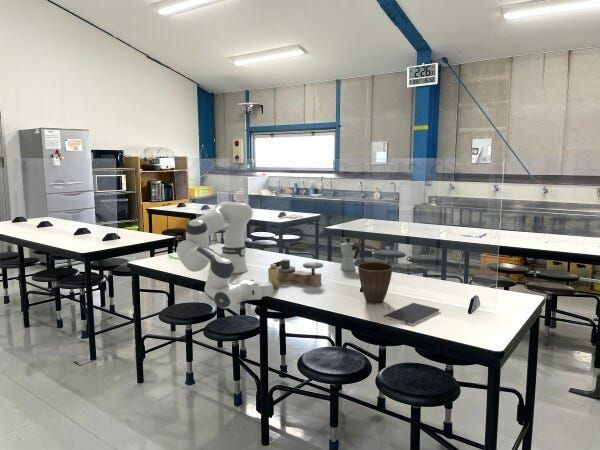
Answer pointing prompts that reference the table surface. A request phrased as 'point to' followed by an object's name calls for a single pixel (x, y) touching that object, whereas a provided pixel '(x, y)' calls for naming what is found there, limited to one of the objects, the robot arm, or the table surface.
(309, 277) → the balance
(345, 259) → the coffee maker
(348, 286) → the table surface
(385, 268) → the plant pot
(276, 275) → the brass weight
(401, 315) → the notebook
